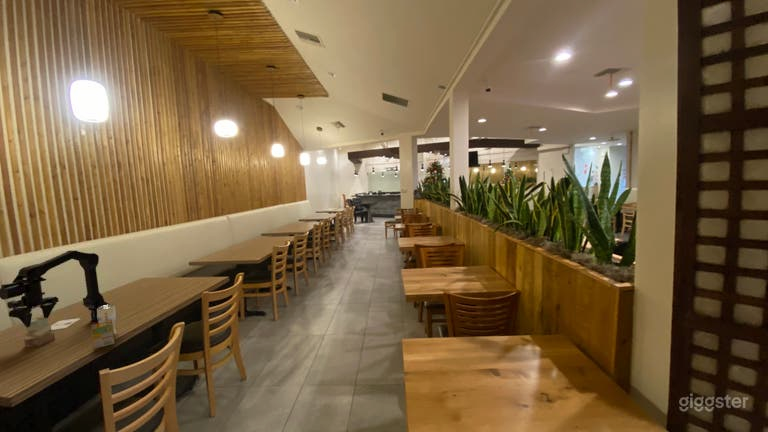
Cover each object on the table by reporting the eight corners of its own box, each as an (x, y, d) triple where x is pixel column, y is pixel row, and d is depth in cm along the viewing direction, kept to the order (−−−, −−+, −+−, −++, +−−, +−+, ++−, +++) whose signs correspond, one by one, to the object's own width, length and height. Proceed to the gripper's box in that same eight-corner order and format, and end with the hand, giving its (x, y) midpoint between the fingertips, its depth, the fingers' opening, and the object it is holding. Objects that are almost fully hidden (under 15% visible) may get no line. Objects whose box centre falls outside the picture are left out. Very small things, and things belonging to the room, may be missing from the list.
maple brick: (51, 332, 153) (50, 324, 153) (40, 338, 147) (39, 330, 147) (37, 333, 152) (36, 326, 152) (26, 339, 146) (24, 331, 146)
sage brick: (48, 325, 152) (47, 317, 152) (38, 329, 147) (37, 322, 147) (36, 326, 151) (35, 318, 151) (26, 331, 146) (25, 323, 146)
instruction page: (81, 318, 180) (81, 317, 180) (65, 328, 166) (65, 327, 166) (59, 321, 176) (59, 320, 176) (41, 331, 163) (41, 331, 163)
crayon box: (115, 341, 149) (112, 318, 148) (114, 343, 147) (111, 320, 146) (94, 346, 145) (91, 323, 144) (93, 349, 142) (91, 325, 141)
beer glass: (97, 339, 152) (94, 310, 151) (102, 333, 158) (99, 306, 157) (115, 335, 155) (112, 307, 154) (119, 330, 161) (116, 303, 160)
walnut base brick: (55, 339, 153) (54, 332, 153) (39, 347, 146) (38, 339, 146) (41, 340, 154) (40, 332, 153) (25, 347, 147) (24, 339, 146)
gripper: (32, 287, 156) (36, 316, 157) (-8, 300, 137) (-3, 333, 139) (57, 285, 157) (61, 314, 159) (21, 298, 139) (25, 331, 140)
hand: (37, 323), depth 149 cm, fingers open, 9 cm apart
